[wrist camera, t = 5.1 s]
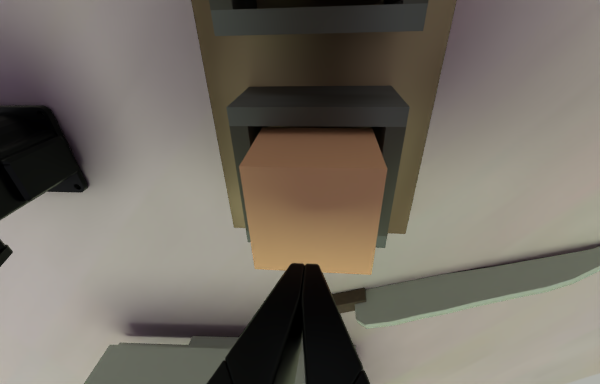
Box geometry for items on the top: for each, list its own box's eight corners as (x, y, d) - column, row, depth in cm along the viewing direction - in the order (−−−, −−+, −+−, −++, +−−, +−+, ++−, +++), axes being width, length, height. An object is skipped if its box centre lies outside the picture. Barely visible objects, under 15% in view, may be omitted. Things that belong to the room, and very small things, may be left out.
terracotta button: (270, 214, 16) (254, 268, 12) (262, 127, 13) (239, 166, 10) (362, 217, 15) (371, 274, 12) (372, 127, 13) (387, 168, 9)
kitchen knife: (263, 344, 26) (694, 287, 17) (257, 338, 26) (698, 275, 17) (272, 305, 30) (633, 240, 21) (267, 298, 29) (636, 229, 20)
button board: (241, 211, 22) (215, 269, 17) (161, -269, 11) (8, -528, 6) (399, 216, 21) (421, 279, 16) (503, -312, 10) (699, -681, 4)
